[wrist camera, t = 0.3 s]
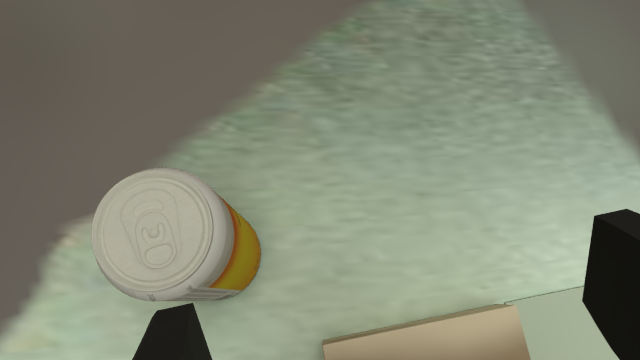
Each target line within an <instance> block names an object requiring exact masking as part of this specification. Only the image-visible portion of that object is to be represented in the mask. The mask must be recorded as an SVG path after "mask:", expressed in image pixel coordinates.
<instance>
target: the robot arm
mask: <svg viewBox="0 0 640 360" xmlns="http://www.w3.org/2000/svg"><path fill="white" fill-rule="evenodd" d="M582 302H583V303H584V305H585V307H586V308H587V310H588V312H589V313H590V315H591V317H592V319H593V320H594V322H595V324H596V325H597V327H598V329H599V330H600V332H601V333H602V335H603V337H604V338H605V340H606V341H607V343H608V344H609V346H610V348H611V349H612V351H613V352H614V353H615V354H616V356H617V357H618V358H619V360H640V214H639V213H636V212H633V211H631V210H628V209H624V210H619V211H615V212H610V213H605V214H601V215H596V216H594V222H593V229H592V236H591V243H590V249H589V256H588V263H587V270H586V277H585V284H584V291H583V298H582ZM132 360H212V358H211V355H210V352H209V349H208V346H207V343H206V340H205V337H204V334H203V331H202V328H201V325H200V322H199V319H198V317H197V314H196V311H195V308H194V305H193V303H191V304H186V305H181V306H177V307H172V308H168V309H163V310H158V311H157V312H156V313H155V314H154V316H153V317H152V319H151V321H150V323H149V325H148V328H147V330H146V332H145V334H144V336H143V338H142V340H141V343H140V345H139V347H138V349H137V351H136V353H135V355H134V357H133V359H132Z"/></svg>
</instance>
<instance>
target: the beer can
mask: <svg viewBox="0 0 640 360" xmlns="http://www.w3.org/2000/svg"><path fill="white" fill-rule="evenodd" d="M91 240H92V247H93V251H94V254H95V258H96V260H97V263H98V265H99V267H100V269H101V271H102V273H103V274H104V276H105V277H106V278H107V279H108V281H109V282H110V283H111V284H112V285H114V286H115V287H116V288H117V289H119V290H120V291H121V292H123V293H125V294H127V295H129V296H131V297H134V298H137V299H141V300H146V301H193V300H222V299H226V298H229V297H232V296H234V295H236V294H238V293H239V292H241V291H242V290H243V289H245V288H246V287H247V286H248V285H249V283H250V282H251V281H252V279H253V278H254V276H255V274H256V272H257V270H258V267H259V263H260V254H261V253H260V244H259V240H258V237H257V235H256V233H255V231H254V229H253V228H252V227H251V225H250V224H249V223H248V222H247V221H246V220H245V219H244V218H243V217H241V216H240V215H239V214H238V213H237V212H236V211H235V210H234V209H233V208H232V207H231V206H230V205H229V204H227V203H226V202H225V201H224V200H223V199H222V198H221V197H220V196H219V195H218V194H217V193H216V192H215V191H214V190H212V189H211V188H210V187H209V186H208V185H207V184H206V183H205V182H204V181H202V180H201V179H200V178H198V177H196V176H195V175H193V174H191V173H189V172H186V171H183V170H180V169H175V168H167V167H159V168H151V169H147V170H143V171H140V172H138V173H135V174H133V175H131V176H129V177H127V178H125V179H123V180H122V181H120V182H119V183H117V184H116V185H115V186H114V187H113V188H112V189H111V190H110V191H109V192H108V193H107V194H106V195H105V196H104V198H103V199H102V201H101V202H100V204H99V206H98V208H97V210H96V213H95V215H94V219H93V223H92V230H91Z"/></svg>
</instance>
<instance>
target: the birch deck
mask: <svg viewBox="0 0 640 360" xmlns="http://www.w3.org/2000/svg"><path fill="white" fill-rule="evenodd" d="M322 346H323V351H324V357H325V360H531V359H530V355H529V351H528V348H527V344H526V340H525V336H524V333H523V329H522V325H521V321H520V318H519V314H518V310H517V306H516V305H503V304H496V305H491V306H486V307H481V308H477V309H472V310H467V311H462V312H457V313H453V314H448V315H443V316H438V317H433V318H428V319H424V320H419V321H414V322H409V323H404V324H400V325H395V326H390V327H385V328H380V329H375V330H371V331H366V332H361V333H356V334H351V335H347V336H342V337H337V338H332V339H327V340H323V344H322Z"/></svg>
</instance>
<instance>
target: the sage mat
mask: <svg viewBox="0 0 640 360" xmlns="http://www.w3.org/2000/svg"><path fill="white" fill-rule="evenodd" d="M583 291H584V286H583V287H578V288H573V289H568V290H563V291H559V292H554V293H549V294H544V295H539V296H534V297H530V298H525V299H520V300H515V301H510V302H506V303H504V304H505V305H516V306H517V310H518V314H519V318H520V321H521V325H522V329H523V333H524V336H525V340H526V344H527V348H528V351H529V355H530V359H531V360H619V358H618V357H617V356H616V354H615V353H614V352H613V351H612V349H611V348H610V346H609V344H608V343H607V341H606V340H605V338H604V337H603V335H602V333H601V332H600V330H599V329H598V327H597V325H596V324H595V322H594V320H593V319H592V317H591V315H590V313H589V312H588V310H587V308H586V307H585V305H584V303H583V302H582V298H583Z"/></svg>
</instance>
